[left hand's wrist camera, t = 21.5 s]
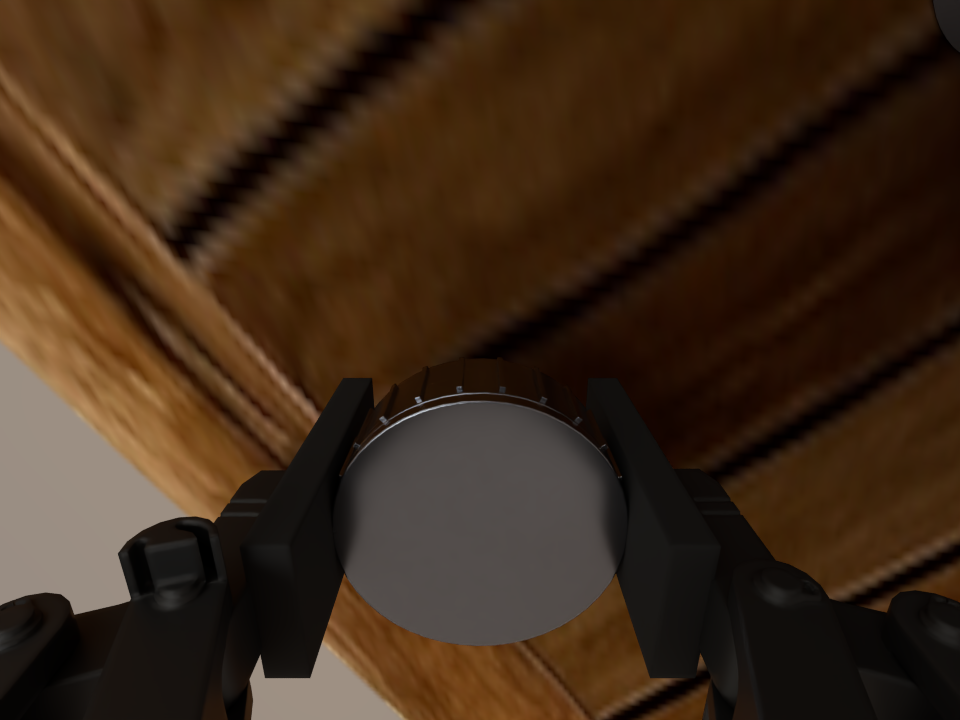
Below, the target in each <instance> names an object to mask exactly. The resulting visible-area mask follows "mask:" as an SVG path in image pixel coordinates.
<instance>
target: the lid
mask: <svg viewBox="0 0 960 720" xmlns="http://www.w3.org/2000/svg"><path fill="white" fill-rule="evenodd" d="M337 479H338V480H340V482H339V485H338V488H337V491H336V494H335V497H334V502H333V508H332V529H333V538H334V546H335V551H336V554H337V557H338V560H339V563H340V565H341V567H342V569H343V571H344V573H345V575H346V577H347V579H348V580H349V581H350V583H351V584H352V586H353V587H354V589H355V590H356V591H357V592H358V593H359V595H360V596H361V597H362V598H363V599H364V600H365V601H366V602H367V603H368V604H369V605H370V606H371V607H372V608H374V609H375V610H376V611H377V612H378V613H380V614H381V615H382V616H384V617H385V618H387V619H388V620H390V621H391V622H393V623H395V624H397V625H399V626H400V627H402V628H404V629H406V630H408V631H411V632H413V633H416V634H418V635H421V636H423V637H427V638H430V639H434V640H437V641H441V642H447V643H453V644H459V645H472V646H486V645H500V644H508V643H514V642H518V641H523V640H527V639H530V638H533V637H536V636H539V635H542V634H545V633H547V632H549V631H552V630H554V629H556V628H558V627H560V626H562V625H564V624H565V623H567V622H569V621H570V620H572V619H574V618H575V617H577V616H578V615H579V614H580V613H582V612H583V611H584V610H586V609H587V608H588V607H589V606H590V605H591V604H592V603H593V602H594V601H595V600H596V599H597V598H598V597H599V596H600V595H601V594H602V593H603V591H604V590H605V589H606V588H607V586H608V585H609V584H610V582H611V580H612V579H613V577H614V575H615V574H616V572H617V570H618V568H619V566H620V563H621V561H622V558H623V556H624V552H625V548H626V541H627V532H628V524H629V515H628V505H627V501H626V497H625V493H624V489H623V487H622V484H621V481H623V477H622V475H621V472H620V470H619V468H618V466H617V463H616V461H615V459H614V457H613V454H612V452H611V450H610V448H609V445H608V443H607V441H606V439H605V438H604V437H603V434H602V432H601V430H600V428H599V425H598V423H597V421H596V419H595V416H594V414H593V412H592V410H591V409H590V410H588V411H587V409H586V408H585V407H584V406H583V404H582V403H581V402H580V401H579V400H578V399H577V397H576V396H574V395H573V394H572V391H571V389H570V387H569V386H568V385H565V386H563V385H561V384H560V383H558V382H557V381H556V380H554V379H553V378H551V377H549V376H547V375H545V374H543V373H541V372H540V370H539V368H537V367H534V368H533V369H532V368H529V367H527V366H524V365H521V364H517V363H513V362H508V361H503V358H500V357H498V358H497V360H494V359H465V358H464V357H460V358H459V360H458V361H452V362H447V363H444V364H440V365H437V366H433V367H430V368H428V366H426V367H423V369H422V371H421V372H419V373H417V374H415V375H413V376H411V377H410V378H408V379H406V380H405V381H403V382H401V383H400V384H399V385H398V386H397V385H396V384H394V385H392V387H391V389H390V392H389V393H388V394H387V395H386V396H385V397H384V398H383V399H382V400H381V401H380V402H379V403H378V404H377V406H376V407H375V409H372V408H370V409H369V411H368V413H367V415H366V418H365V420H364V422H363V424H362V427H361V429H360V431H359V433H358V436H357V437H355V439H354V441H353V443H352V446H351V448H350V450H349V452H348V455H347V457H346V459H345V461H344V464H343V466H342V468H341V470H340V473H339V475H338V478H337Z"/></svg>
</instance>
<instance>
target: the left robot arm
mask: <svg viewBox="0 0 960 720" xmlns="http://www.w3.org/2000/svg"><path fill="white" fill-rule="evenodd" d="M370 408H372V409H374V398H373V385H372V378H343V380H342V381H341V383H340V384H339V386H338V388H337V389H336V391H335V393H334V394H333V396H332V397H331V399H330V401H329V402H328V404H327V406H326V407H325V409H324V410H323V412H322V414H321V415H320V417H319V418H318V420H317V422H316V423H315V425H314V427H313V428H312V430H311V431H310V433H309V435H308V436H307V438H306V440H305V441H304V443H303V444H302V446H301V448H300V449H299V451H298V452H297V454H296V456H295V457H294V459H293V461H292V462H291V464H290V465H289V467H288V469H287V470H286V471H260V472H259V473H257V474H256V475H254V476H253V477H252V478H250V479H249V480H247V481H246V482H244V483H243V484H242V485H241V486H240V488H239V489H238V490H237V492H236V493H235V495H234V496H233V497H232V499H231V500H230V503H228V504H227V506H226V507H225V508H224V510H223V511H222V512H221V516H220V517H218V518H217V519H216V521H215V522H214V523H213V522H212V521H210V520H209V519H204V518H200V517H180V518H175V519H171V520H168V521H164V522H160V523H158V524H156V525H154V526H151V527H149V528H147V529H145V530H143V531H141V532H140V533H138V534H137V535H136V536H134V537H133V538H132V539H130V540H129V541H127V543H126V544H125V545H124V546H123V548H122V549H121V550H120V552H119V553H118V556H119V559H120V563H121V566H122V569H123V572H124V576H125V579H126V583H127V586H128V590H129V593H130V596H131V600H130V601H129V602H126V603H122V604H119V605H115V606H111V607H106V608H102V609H98V610H93V611H89V612H85V613H80V614H76V615H74V613H73V610H72V607H71V604H70V602H69V601H68V600H67V599H66V598H65V597H64V596H62V595H61V594H53V593H40V594H34V595H28V596H24V597H21V598H19V599H16V600H12V601H10V602H7V603H5V604H2V605H1V606H0V720H251V715H252V705H253V697H252V690H251V685H250V680H249V679H250V677H251V674H252V672H253V670H254V667H255V665H256V663H257V661H258V658H259V656H260V654H261V660H262V665H263V670H264V675H265V678H310V677H311V674H312V671H313V668H314V664H315V662H316V658H317V655H318V652H319V649H320V646H321V643H322V640H323V637H324V634H325V631H326V628H327V625H328V622H329V619H330V616H331V612H332V609H333V606H334V603H335V600H336V597H337V594H338V591H339V588H340V585H341V582H342V579H343V576H344V571H343V569H342V567H341V565H340V563H339V560H338V557H337V554H336V551H335V546H334V538H333V529H332V508H333V502H334V497H335V494H336V491H337V488H338V485H339V482H340V480H338V479H337V478H338V475H339V473H340V470H341V468H342V466H343V464H344V461H345V459H346V457H347V455H348V452H349V450H350V448H351V446H352V443H353V441H354V439H355V437H357V436H358V433H359V431H360V429H361V427H362V424H363V422H364V420H365V418H366V415H367V413H368V411H369V409H370ZM586 409H587V411H588V410H590V409H591V410H592V412H593V414H594V416H595V419H596V421H597V423H598V425H599V428H600V430H601V432H602V434H603V437H604V438H605V439H606V441H607V443H608V445H609V448H610V450H611V452H612V454H613V457H614V459H615V461H616V463H617V466H618V468H619V470H620V472H621V475H622V477H623V481H621V484H622V487H623V489H624V493H625V497H626V501H627V505H628V515H629V524H628V532H627V541H626V548H625V552H624V556H623V558H622V561H621V563H620V566H619V568H618V570H617V572H616V575H617V578H618V581H619V584H620V587H621V590H622V593H623V596H624V599H625V602H626V605H627V608H628V611H629V614H630V618H631V621H632V624H633V627H634V630H635V633H636V636H637V639H638V642H639V645H640V648H641V651H642V654H643V657H644V660H645V664H646V667H647V670H648V673H649V676H650V678H695V677H696V672H697V666H698V661H699V656H700V653H701V655H702V657H703V660H704V662H705V664H706V666H707V669H708V671H709V673H710V675H711V680H710V685H709V690H708V694H707V699H706V704H705V709H704V713H703V718H702V720H960V603H959V602H957V601H955V600H952V599H950V598H946V597H944V596H941V595H938V594H935V593H929V592H922V591H916V590H914V591H906V592H900V593H899V594H897V595H896V596H895V597H894V598H892V600H891V603H890V606H889V609H888V611H887V613H886V612H881V611H877V610H873V609H868V608H864V607H859V606H855V605H851V604H846V603H842V602H839V601H836V600H832V599H829V597H828V596H827V594H826V593H825V591H824V590H823V588H822V587H821V585H820V584H819V583H817V582H816V581H815V580H814V579H813V578H811V577H810V576H809V575H808V574H807V573H805V572H803V571H801V570H799V569H797V568H795V567H793V566H791V565H789V564H786V563H783V562H779V561H776V560H775V559H774V557H773V556H772V555H771V553H770V552H769V551H768V549H767V548H766V546H765V545H764V544H763V542H762V541H761V540H760V538H759V537H758V536H757V534H756V533H755V531H754V530H753V529H752V527H751V526H750V525H749V523H748V522H747V521H746V519H745V518H744V516H743V515H740V511H739V510H738V508H737V507H736V506H735V504H734V503H733V502H731V501H730V497H729V496H728V495H727V493H726V492H725V490H724V489H723V488H722V486H721V485H720V484H719V482H717V481H716V480H714V479H713V478H711V477H710V476H709V475H707V474H706V473H704V472H703V471H701V470H700V469H673V468H672V466H671V465H670V463H669V462H668V460H667V458H666V457H665V455H664V454H663V452H662V450H661V449H660V447H659V445H658V444H657V442H656V441H655V439H654V437H653V436H652V434H651V432H650V431H649V429H648V428H647V426H646V424H645V423H644V421H643V420H642V418H641V416H640V415H639V413H638V411H637V410H636V408H635V407H634V405H633V403H632V402H631V400H630V398H629V397H628V395H627V394H626V392H625V390H624V389H623V387H622V386H621V384H620V382H619V381H618V379H617V378H588V389H587V402H586Z"/></svg>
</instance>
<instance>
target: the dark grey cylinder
mask: <svg viewBox="0 0 960 720" xmlns="http://www.w3.org/2000/svg"><path fill="white" fill-rule="evenodd" d="M933 5H934V9H935V14H936V18H937V21H938V23H939V26H940V28H941V30H942V32H943V34H944V35H945V37H946V39H947V40H948V41H949V42H950V44H951V45H952V46H953V47H954V48H955V49H956V50H957V51H959V52H960V0H933Z"/></svg>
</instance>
